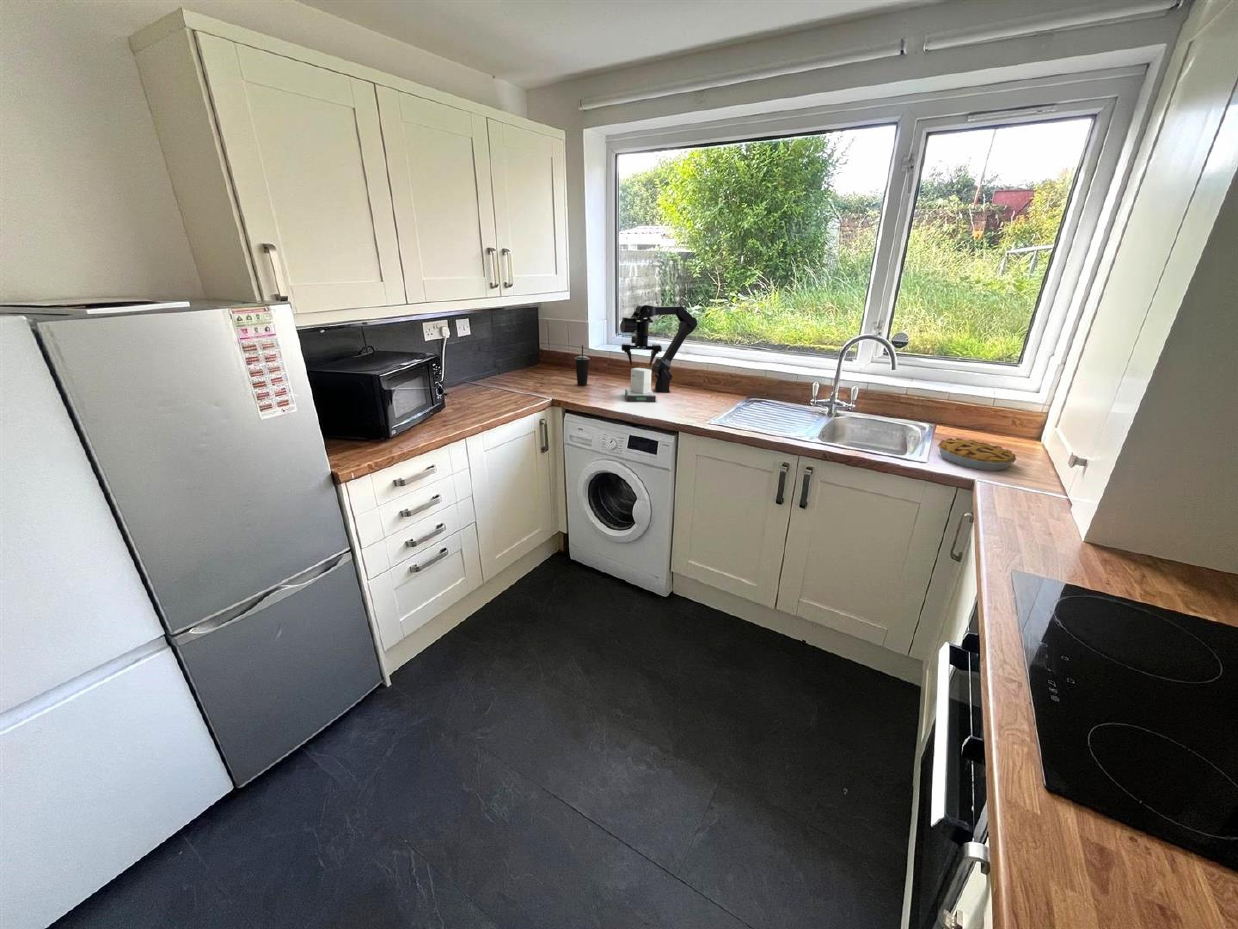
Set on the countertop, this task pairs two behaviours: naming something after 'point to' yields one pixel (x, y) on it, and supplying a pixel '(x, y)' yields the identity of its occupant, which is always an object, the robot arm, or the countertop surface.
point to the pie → (976, 454)
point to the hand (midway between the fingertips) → (640, 365)
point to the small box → (641, 380)
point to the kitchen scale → (639, 396)
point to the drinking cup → (582, 369)
